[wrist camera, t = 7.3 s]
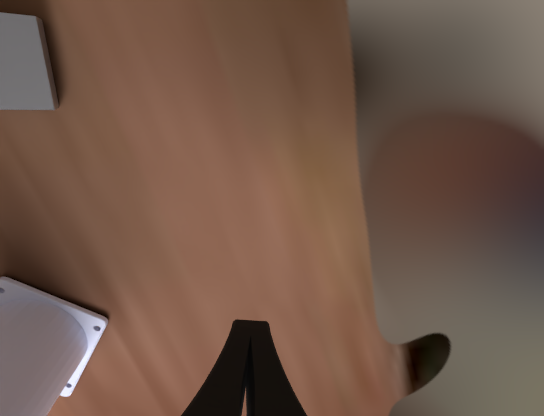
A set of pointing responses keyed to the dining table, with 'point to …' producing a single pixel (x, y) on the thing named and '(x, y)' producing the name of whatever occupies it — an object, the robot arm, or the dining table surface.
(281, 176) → the dining table surface
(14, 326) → the robot arm
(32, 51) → the domino
